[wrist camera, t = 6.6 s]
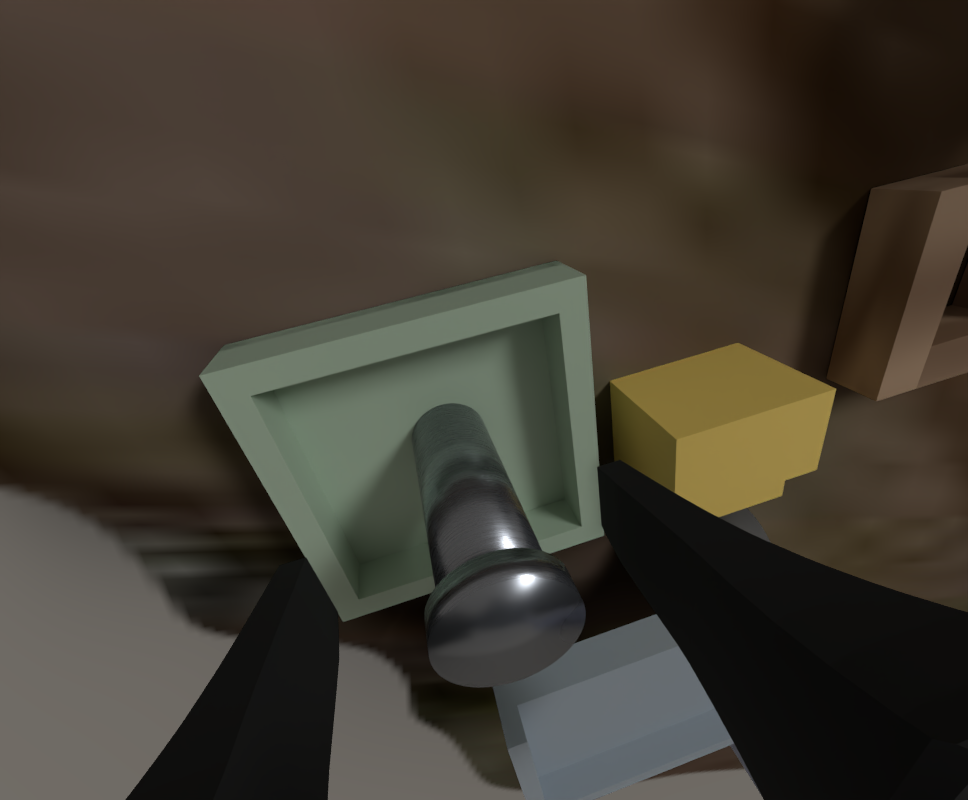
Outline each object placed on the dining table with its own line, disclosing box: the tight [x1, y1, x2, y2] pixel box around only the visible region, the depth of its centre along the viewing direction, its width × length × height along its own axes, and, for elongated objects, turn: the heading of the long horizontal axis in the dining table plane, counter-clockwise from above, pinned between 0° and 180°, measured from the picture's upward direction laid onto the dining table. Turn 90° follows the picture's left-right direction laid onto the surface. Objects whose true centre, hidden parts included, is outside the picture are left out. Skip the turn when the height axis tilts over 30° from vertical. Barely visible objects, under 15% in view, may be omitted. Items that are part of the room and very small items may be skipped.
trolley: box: [493, 508, 770, 800], centre depth 17 cm, size 9×12×6 cm
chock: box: [610, 343, 836, 517], centre depth 15 cm, size 5×5×4 cm
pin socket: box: [826, 164, 968, 401], centre depth 15 cm, size 7×7×2 cm
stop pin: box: [412, 403, 586, 687], centre depth 11 cm, size 3×3×7 cm
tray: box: [199, 261, 604, 622], centre depth 14 cm, size 10×10×2 cm
